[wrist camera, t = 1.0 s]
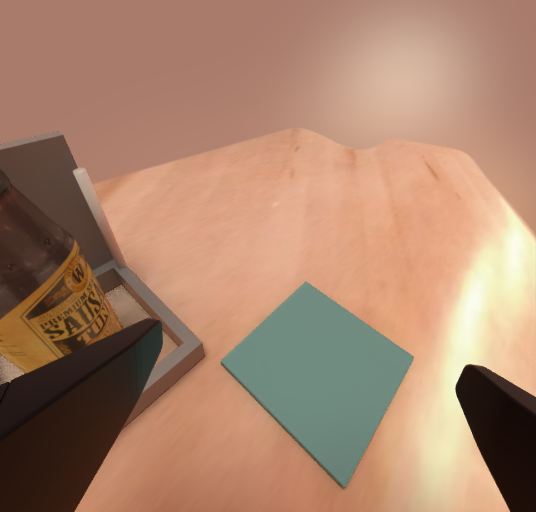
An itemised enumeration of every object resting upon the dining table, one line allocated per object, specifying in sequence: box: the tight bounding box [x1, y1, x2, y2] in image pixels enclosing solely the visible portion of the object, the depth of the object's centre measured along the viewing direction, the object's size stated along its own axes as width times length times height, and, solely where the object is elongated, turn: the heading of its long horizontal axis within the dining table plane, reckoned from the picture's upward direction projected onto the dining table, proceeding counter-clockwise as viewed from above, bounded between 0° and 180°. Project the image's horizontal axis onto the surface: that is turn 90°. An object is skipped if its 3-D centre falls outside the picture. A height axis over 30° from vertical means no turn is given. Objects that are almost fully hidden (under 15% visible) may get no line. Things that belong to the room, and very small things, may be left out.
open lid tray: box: [0, 131, 205, 429], centre depth 18 cm, size 13×14×14 cm
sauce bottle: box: [0, 169, 123, 374], centre depth 16 cm, size 6×6×20 cm
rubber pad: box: [221, 282, 414, 488], centre depth 24 cm, size 12×12×1 cm
